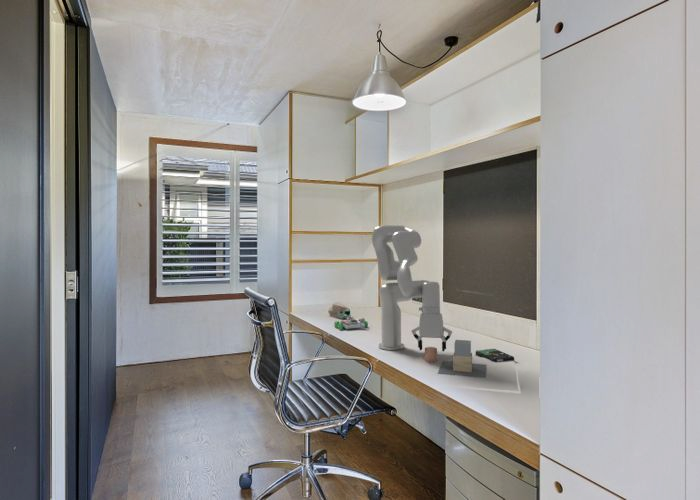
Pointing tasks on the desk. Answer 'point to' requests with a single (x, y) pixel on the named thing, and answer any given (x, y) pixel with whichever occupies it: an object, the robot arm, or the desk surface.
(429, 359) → the brown egg shape
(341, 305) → the decorative stone
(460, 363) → the pale oak block
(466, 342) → the slate grey block
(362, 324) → the robot kit
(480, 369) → the charcoal mat
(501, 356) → the disk drive
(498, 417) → the desk surface
